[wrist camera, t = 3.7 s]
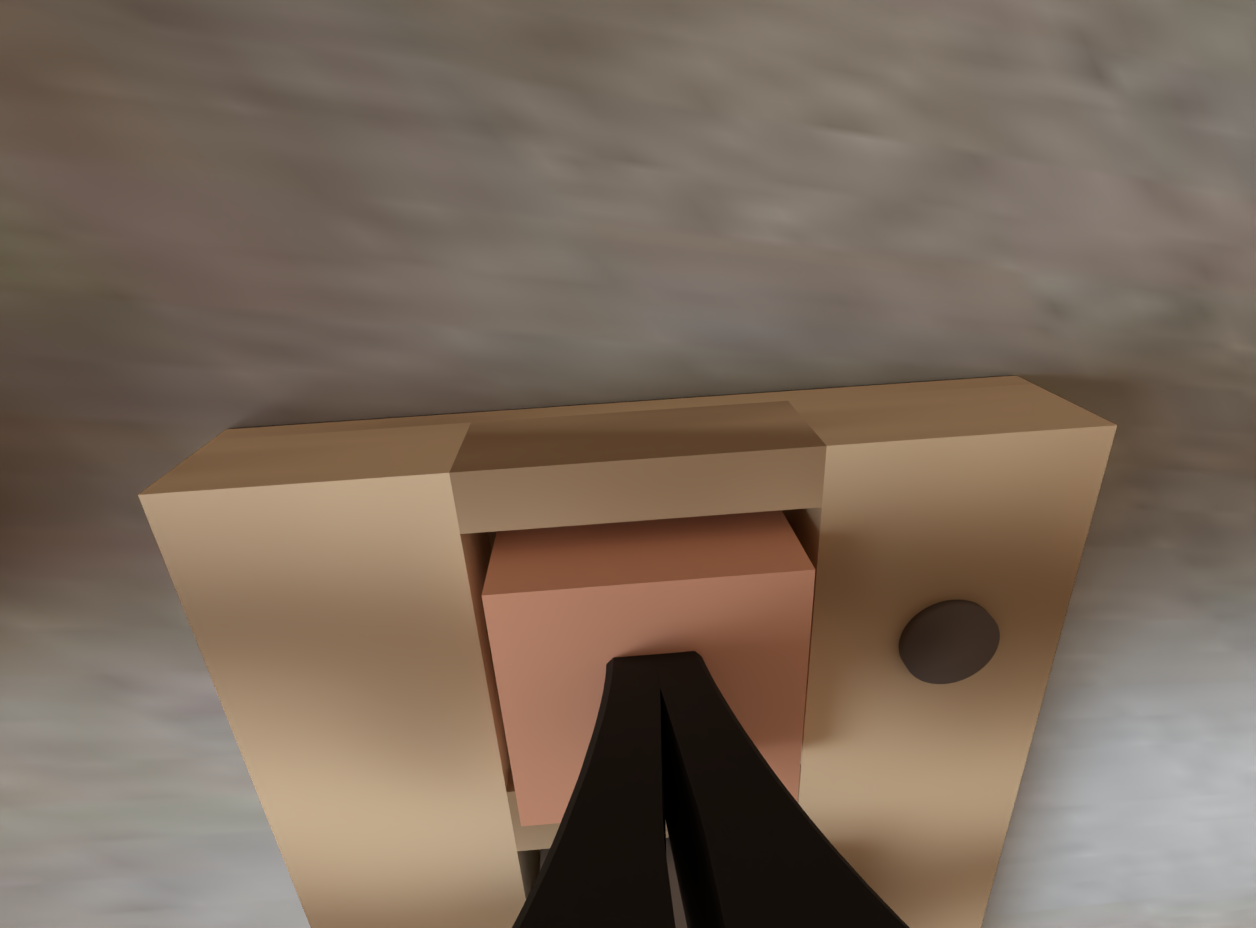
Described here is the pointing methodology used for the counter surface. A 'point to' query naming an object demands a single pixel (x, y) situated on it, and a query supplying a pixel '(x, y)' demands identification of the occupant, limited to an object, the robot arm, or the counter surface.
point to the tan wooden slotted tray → (622, 492)
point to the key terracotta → (644, 633)
